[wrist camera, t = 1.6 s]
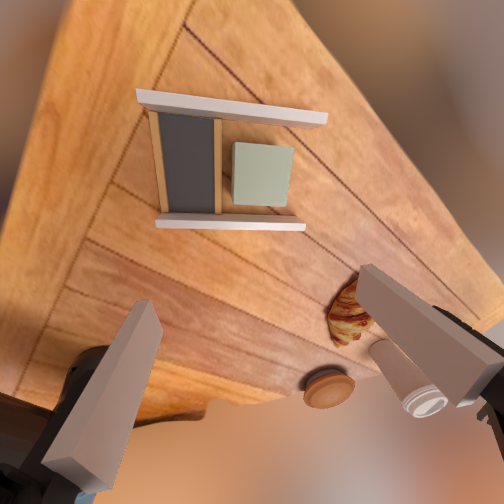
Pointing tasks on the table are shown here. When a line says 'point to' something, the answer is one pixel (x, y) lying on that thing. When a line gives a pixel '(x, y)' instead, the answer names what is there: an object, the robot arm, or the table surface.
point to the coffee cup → (407, 380)
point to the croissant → (347, 318)
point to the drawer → (187, 162)
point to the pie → (328, 388)
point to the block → (260, 174)
